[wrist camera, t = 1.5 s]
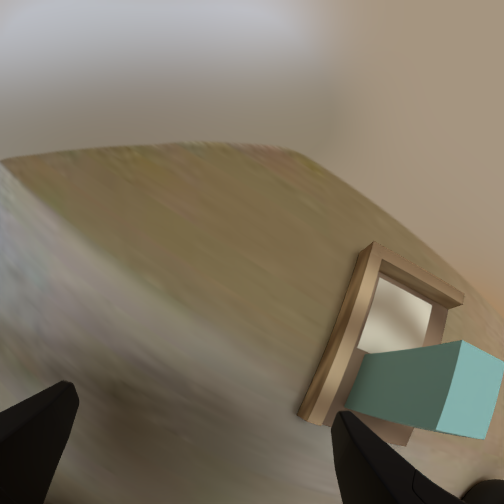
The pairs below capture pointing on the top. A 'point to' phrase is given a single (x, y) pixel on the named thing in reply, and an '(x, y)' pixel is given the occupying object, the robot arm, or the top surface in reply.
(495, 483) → the cola bottle
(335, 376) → the arena
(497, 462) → the top surface
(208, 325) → the top surface
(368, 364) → the block
